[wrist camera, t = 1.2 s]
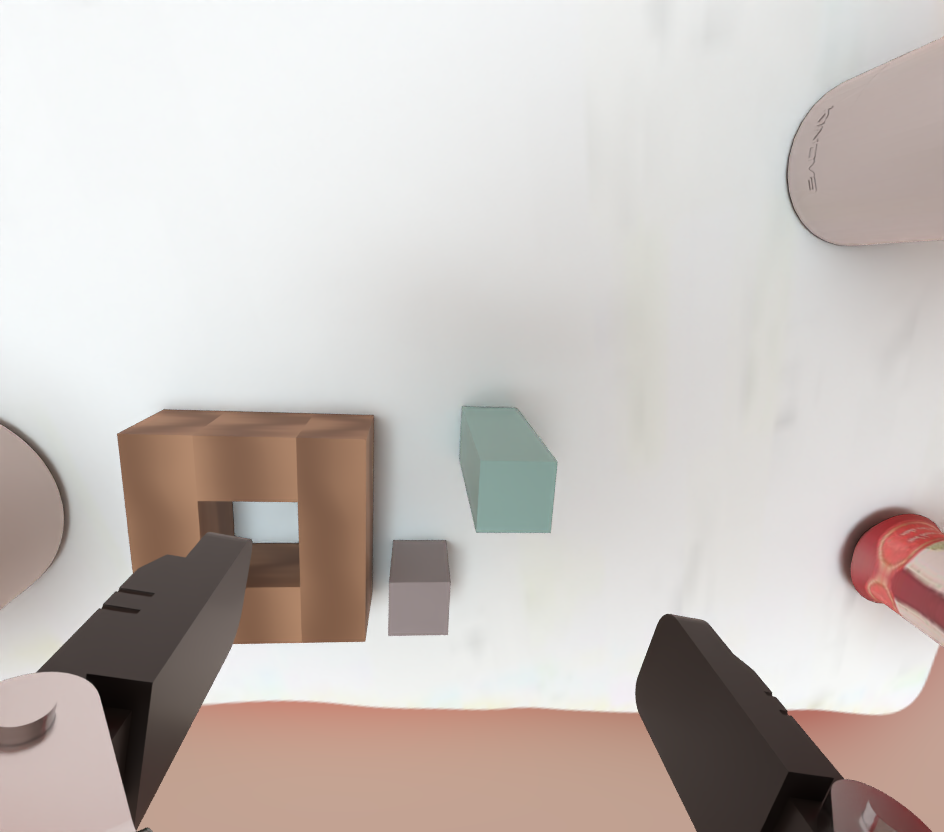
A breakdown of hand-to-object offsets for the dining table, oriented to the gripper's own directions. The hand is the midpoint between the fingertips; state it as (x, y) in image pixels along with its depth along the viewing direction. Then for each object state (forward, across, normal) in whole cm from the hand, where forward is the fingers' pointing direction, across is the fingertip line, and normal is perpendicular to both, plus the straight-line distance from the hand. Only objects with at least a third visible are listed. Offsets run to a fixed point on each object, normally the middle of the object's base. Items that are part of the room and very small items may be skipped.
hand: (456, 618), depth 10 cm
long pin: (+23, -4, +2) cm, 23 cm away
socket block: (+23, +8, +10) cm, 26 cm away
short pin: (+23, -2, +12) cm, 26 cm away
